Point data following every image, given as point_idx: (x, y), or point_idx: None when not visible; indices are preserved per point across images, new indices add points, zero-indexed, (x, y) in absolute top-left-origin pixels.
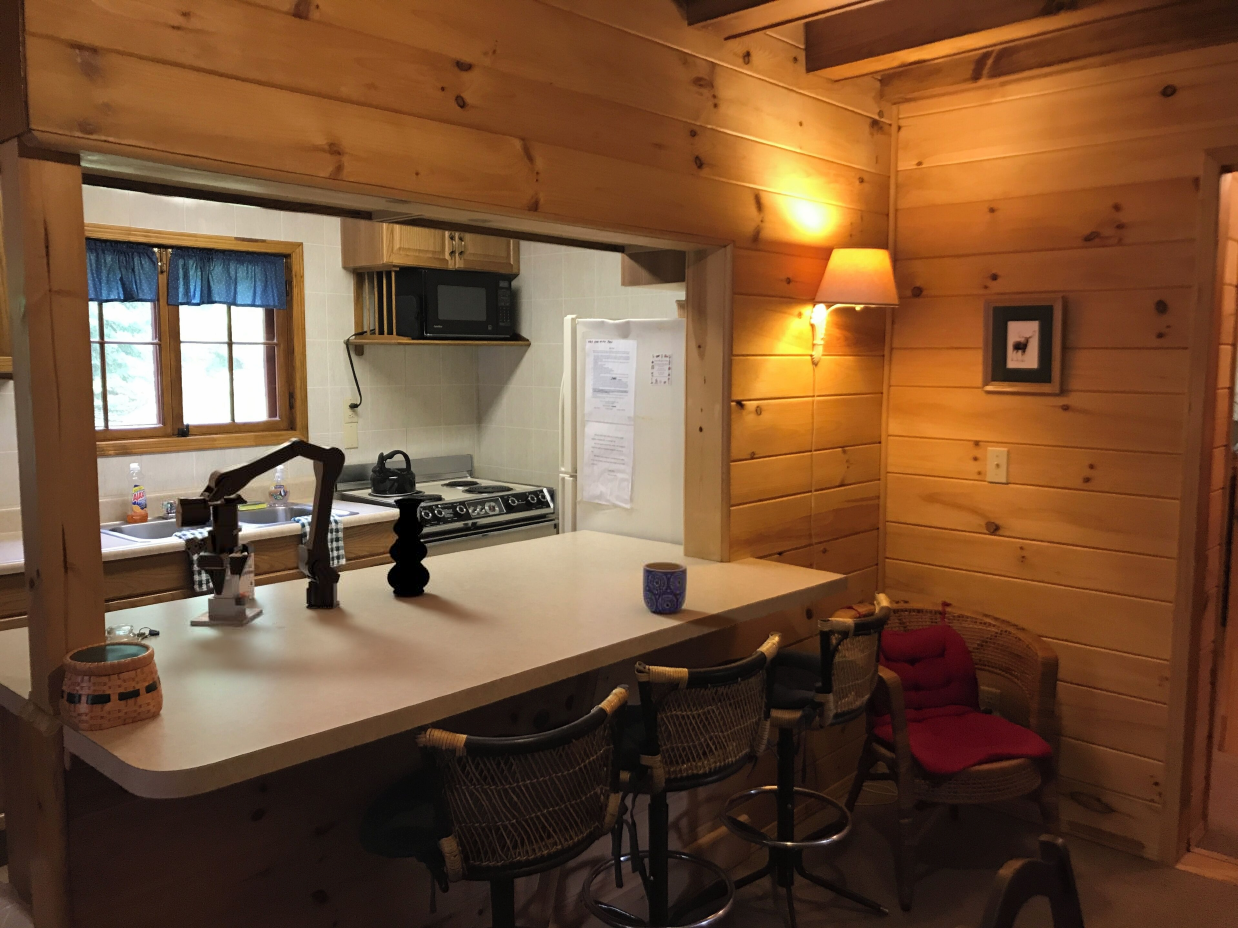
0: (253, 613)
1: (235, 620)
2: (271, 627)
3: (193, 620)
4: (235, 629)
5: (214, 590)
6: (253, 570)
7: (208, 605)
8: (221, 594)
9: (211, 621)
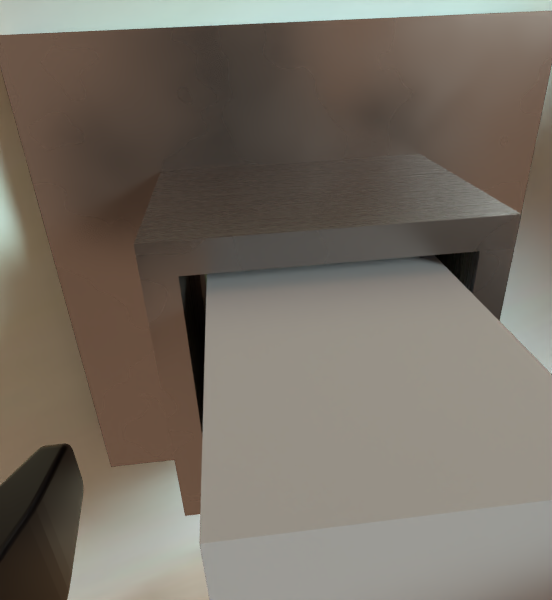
0: None
1: (131, 412)
2: (136, 568)
3: (14, 69)
4: (26, 439)
5: (209, 359)
6: None
7: (146, 215)
8: (78, 494)
9: (54, 257)
